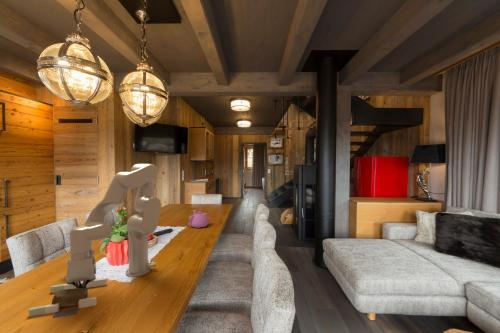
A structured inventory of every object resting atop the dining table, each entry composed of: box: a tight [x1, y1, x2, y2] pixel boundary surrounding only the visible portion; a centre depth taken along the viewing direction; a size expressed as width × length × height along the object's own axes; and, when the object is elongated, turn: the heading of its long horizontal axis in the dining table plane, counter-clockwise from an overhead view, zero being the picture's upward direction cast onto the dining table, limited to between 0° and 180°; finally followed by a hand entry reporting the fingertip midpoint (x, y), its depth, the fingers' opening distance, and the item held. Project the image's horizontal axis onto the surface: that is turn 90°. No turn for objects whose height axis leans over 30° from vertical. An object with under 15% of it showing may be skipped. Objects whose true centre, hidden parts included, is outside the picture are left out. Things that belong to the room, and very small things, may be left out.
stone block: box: [51, 288, 89, 308], centre depth 94 cm, size 6×12×5 cm, turn 109°
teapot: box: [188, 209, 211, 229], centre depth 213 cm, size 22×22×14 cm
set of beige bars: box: [28, 277, 108, 318], centre depth 98 cm, size 22×18×3 cm
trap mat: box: [52, 307, 81, 319], centre depth 88 cm, size 8×4×1 cm, turn 110°
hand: (81, 294), depth 99 cm, fingers closed
